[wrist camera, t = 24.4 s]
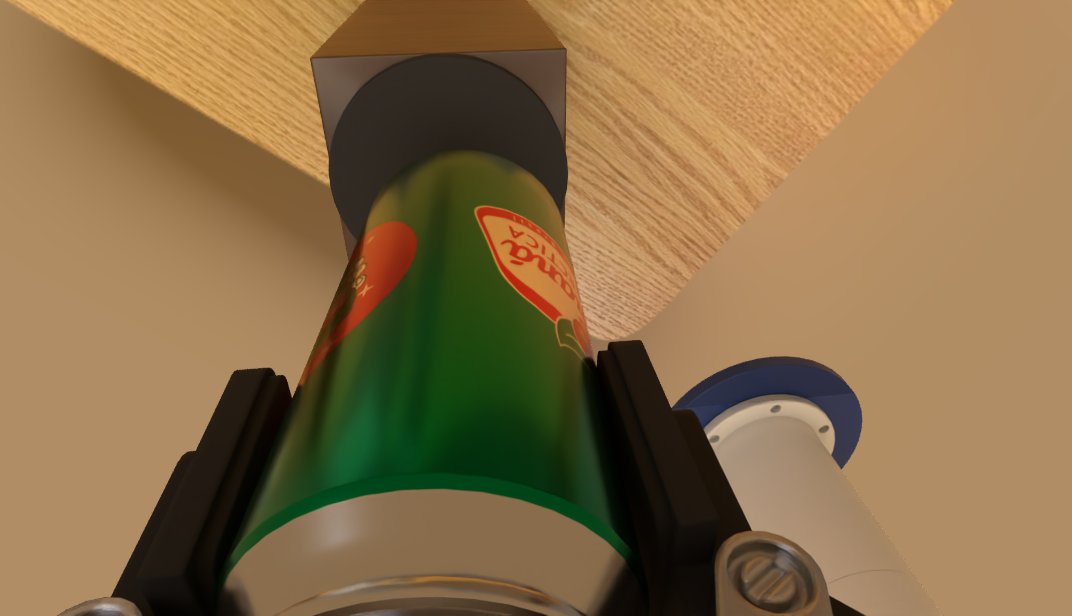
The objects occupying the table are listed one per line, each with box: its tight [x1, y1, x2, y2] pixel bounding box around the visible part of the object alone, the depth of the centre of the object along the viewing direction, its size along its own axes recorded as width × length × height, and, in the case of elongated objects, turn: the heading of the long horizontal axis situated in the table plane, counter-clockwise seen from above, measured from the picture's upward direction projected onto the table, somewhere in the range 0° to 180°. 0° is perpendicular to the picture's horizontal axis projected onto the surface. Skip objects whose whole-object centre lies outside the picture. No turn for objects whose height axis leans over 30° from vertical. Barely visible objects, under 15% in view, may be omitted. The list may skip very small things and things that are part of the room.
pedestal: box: [310, 0, 567, 260], centre depth 29 cm, size 8×8×16 cm
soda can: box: [213, 150, 650, 616], centre depth 12 cm, size 5×5×12 cm
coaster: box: [329, 53, 568, 241], centre depth 22 cm, size 8×8×1 cm
